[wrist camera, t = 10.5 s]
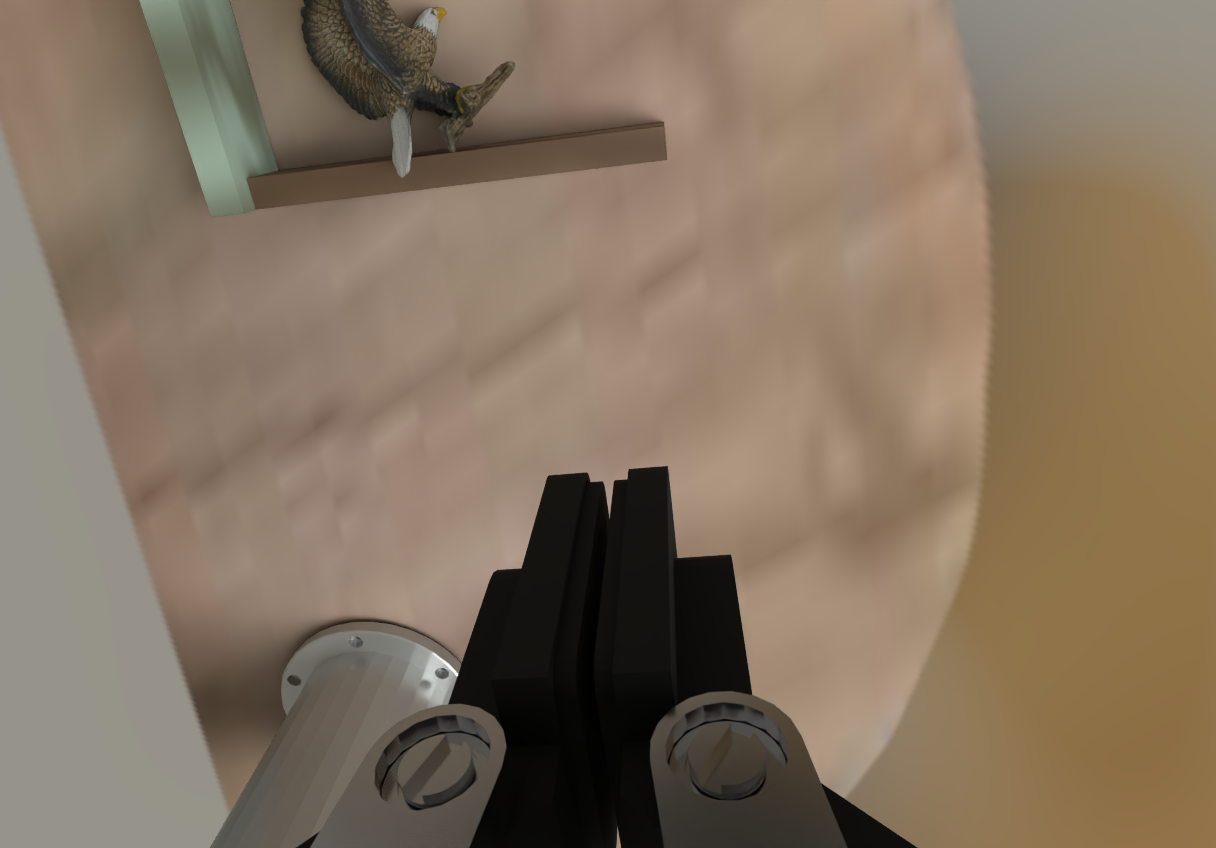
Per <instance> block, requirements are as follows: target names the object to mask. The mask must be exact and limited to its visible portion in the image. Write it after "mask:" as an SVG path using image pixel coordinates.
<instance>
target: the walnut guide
mask: <svg viewBox="0 0 1216 848" xmlns="http://www.w3.org/2000/svg"><path fill="white" fill-rule="evenodd" d="M139 1H140V4H141V7H142V10H143V13H144V16H145V19H146V22H147V25H148V28H149V31H150V34H151V37H152V40H153V43H154V46H155V49H156V52H157V55H158V58H159V61H160V64H161V67H162V70H163V73H164V76H165V79H166V82H167V85H168V88H169V91H170V94H171V98H172V101H173V104H174V107H175V110H176V113H177V116H178V119H179V122H180V125H181V128H182V131H183V134H184V137H185V140H186V143H187V146H188V149H189V152H190V155H191V158H192V161H193V164H194V167H195V170H196V173H197V176H198V179H199V182H200V185H201V188H202V191H203V194H204V197H205V200H206V203H207V206H208V209H209V212H210V215H211V217H218V216H226V215H234V214H243V213H247V212H250V211H253V210H255V209H264V208H272V207H280V206H288V205H297V204H305V203H313V202H322V201H330V200H338V199H347V198H355V197H363V196H371V195H380V194H388V193H396V192H405V191H413V190H421V189H430V188H438V187H446V186H454V185H463V184H471V183H479V182H488V181H496V180H504V179H513V178H521V177H529V176H537V175H546V174H554V173H562V172H571V171H579V170H587V169H595V168H604V167H612V166H620V165H629V164H637V163H645V162H654V161H662V160H667V152H666V140H665V128H664V122H658V123H650V124H643V125H635V126H627V127H619V128H611V129H603V130H595V131H587V132H579V133H571V134H563V135H555V136H547V137H539V138H532V139H524V140H516V141H508V142H500V143H492V144H484V145H476V146H468V147H460V148H457V149H456V151H455V152H451V151H450V150H448V149H444V150H436V151H428V152H420V153H413V154H412V155H411V162H410V171H409V172H408V173H407V174H406V175H405V176H404V177H403V178H401V177H400V176H399V175H398V173H397V170H396V168H395V165H394V163H393V160H392V156H389V157H381V158H373V159H365V160H357V161H349V162H341V163H333V164H325V165H317V166H309V167H302V168H294V169H286V170H278V168H277V164H276V161H275V157H274V154H273V151H272V147H271V144H270V140H269V137H268V133H267V130H266V126H265V123H264V119H263V116H262V112H261V109H260V105H259V102H258V98H257V95H256V92H255V88H254V85H253V81H252V78H251V74H250V71H249V67H248V64H247V60H246V57H245V53H244V50H243V46H242V43H241V40H240V36H239V33H238V29H237V26H236V22H235V19H234V15H233V12H232V8H231V5H230V1H229V0H139Z"/></svg>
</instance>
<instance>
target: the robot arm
mask: <svg viewBox="0 0 1216 848" xmlns="http://www.w3.org/2000/svg"><path fill="white" fill-rule="evenodd" d="M280 693H281V699H282V706H283V708H284V711H285V714H286V718H285V720H284V721H283V723H282V725H281V727H280V728H279V730H278V732H277V733H276V735H275V737H274V739H273V740H272V742H271V744H270V745H269V747H268V749H267V751H266V752H265V754H264V756H263V757H262V759H261V761H260V763H259V764H258V766H257V768H256V769H255V771H254V773H253V775H252V776H251V778H250V780H249V781H248V783H247V785H246V787H245V788H244V790H243V792H242V793H241V795H240V797H239V799H238V800H237V802H236V804H235V805H234V807H233V809H232V811H231V812H230V814H229V816H228V817H227V819H226V821H225V823H224V824H223V826H222V828H221V829H220V831H219V833H218V835H217V836H216V838H215V840H214V842H213V843H212V845H211V847H210V848H616V844H617V826H618V831H619V837H620V843H621V848H917V847H915V846H914V845H912V844H911V843H909V842H908V841H906V840H905V839H903V838H902V837H900V836H899V835H897V834H896V833H895V832H893V831H891V830H890V829H889V828H887V827H886V826H884V825H883V824H881V823H880V822H878V821H877V820H875V819H874V818H872V817H871V816H869V815H868V814H866V813H865V812H863V811H862V810H860V809H859V808H857V807H856V806H854V805H853V804H851V803H850V802H848V801H847V800H845V799H844V798H842V797H841V796H839V795H838V794H836V793H835V792H833V791H832V790H830V789H829V788H827V787H826V786H824V785H823V784H821V782H820V780H819V777H818V775H817V772H816V770H815V768H814V765H813V763H812V760H811V758H810V755H809V753H808V751H807V748H806V746H805V743H804V741H803V738H802V736H801V734H800V733H799V731H798V730H797V728H796V726H795V725H794V723H793V722H792V720H791V718H789V717H788V716H787V715H786V714H785V713H783V712H782V711H781V710H780V709H779V708H778V707H776V706H775V705H774V704H772V703H769V702H767V701H765V700H763V699H761V698H759V697H756V696H754V695H752V690H751V683H750V676H749V670H748V663H747V656H746V650H745V643H744V636H743V630H742V623H741V616H740V610H739V603H738V596H737V589H736V583H735V576H734V569H733V563H732V557H731V555H718V556H703V557H688V558H677V550H676V540H675V530H674V521H673V511H672V501H671V491H670V481H669V473H668V466H663V467H650V468H638V469H629V471H628V479H627V480H615V481H614V486H613V495H612V504H611V512H610V520H609V513H608V506H607V499H606V492H605V487H604V483H603V481H602V482H590V478H589V475H588V473H575V474H562V475H550V476H548V478H547V480H546V484H545V487H544V491H543V494H542V498H541V502H540V505H539V509H538V512H537V516H536V519H535V523H534V526H533V530H532V534H531V537H530V541H529V544H528V548H527V551H526V555H525V558H524V562H523V566H522V569H507V570H497V571H495V572H494V573H493V575H492V577H491V579H490V581H489V584H488V587H487V590H486V593H485V596H484V599H483V602H482V605H481V608H480V611H479V614H478V617H477V620H476V623H475V626H474V629H473V632H472V635H471V638H470V640H469V643H468V646H467V649H466V652H465V655H464V658H463V661H462V664H460V662H459V661H458V660H457V659H456V658H455V657H454V656H452V655H451V654H450V653H449V652H448V651H447V650H446V649H445V648H443V647H442V646H440V645H439V644H437V643H435V642H434V641H432V640H431V639H429V638H427V637H425V636H423V635H421V634H418V633H416V632H414V631H412V630H409V629H406V628H402V627H399V626H395V625H392V624H385V623H377V622H351V623H346V624H340V625H335V626H332V627H330V628H327V629H325V630H322V631H319V632H318V633H316V634H315V635H313V636H312V637H310V638H309V639H307V640H306V641H305V642H304V643H303V644H302V645H301V646H300V647H299V648H298V649H297V650H296V652H295V653H294V655H293V657H292V658H291V660H290V661H289V663H288V664H287V666H286V668H285V671H284V673H283V676H282V681H281V691H280Z"/></svg>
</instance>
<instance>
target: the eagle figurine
mask: <svg viewBox="0 0 1216 848" xmlns="http://www.w3.org/2000/svg"><path fill="white" fill-rule="evenodd" d="M304 2H305V4H306V7H304V8H302V10H301V15H302V17H303V19H304V23H303V24H302V31H303V34H304V36H303V37H304V40H305V42H306V44H307V51H308V53H309V54H310V55H311V57H312V62H313V63H314V64H315V66H317V67H318V69H319V71H320V72H321V73H322V75H323V76H324V78H326V79H327V80H329V82H330V84H331V85H332V86H333V87H334V88H335V90H336V91H337V93H338V94H340V95H342V96H343V99H344V100H345V102H346V103H348V104H349V106H350V107H351V108H352V109H354V110H356V111H357V112H358V113H359V114H362V115H364V116H365V117H366V118H368V119H374V120H377V117H384V115H385V116H387V117H388V120H389V122H390V125H391V129H392V136H393V143H394V145H393V151H392V160H393V163H394V165H395V168H396V170H397V173H398V175H399V176H400V177H401V178H403V177H404V176H405V175H406V174H407V173H408V172H409V171H410V162H411V155H412V138H411V126H410V125H411V116H412V112H413V109H414V108H416V109H418V110H428V111H432V112H435V113H437V114H438V115H440V116H442V115H446V116H448V117H450V116H451V115H452V116H451V117H450V118H448V119H446V120H445V121H444V122H442V124H441V125H440V130H441V132H442V134H443V136H444V140H445V144H446V146H447V148H448V150H450V151H451V152H455V151H456V149H457V147H458V138H459V137H460V136H461V135H462V134H463V130H464V128H465V126H466V127H471V126H472V125H473V121H472V118H473V117H475V116H476V114H477V113H478V112H479V111H480V109H481V108H482V107H483V106H484V105H485V104H486V103H487V102H488V101H489V100H490V99H491V98H492V97H493V96H494V94H495V93H496V92H497V90H498V89H499V88H500V86H501V85H502V84H503V83H504V81H505V80H506V79H507V78H508V77H509V76H510V74H511V73H512V71H513V70H514V68H515V63H514V62H510V61H509V62H506V63H503V64H501V65H500V66H499V67H498V68H497V69H496V70H495V71H494V72H493V73H492V74H491V75H490V76H488V77H487V78H486V80H485V82H484V83H482V84H479V85H474V86H468V87H465V88H460V87H459V86H456V85H455V84H453V83H444V82H442V81H441V80H440V79H439V78H438V77H437V76H436V75H434V73H433V72H432V70H431V65H432V63H433V60H434V57H435V53H436V39H437V30H438V26H439V23H440V20H441V18H442V17H443V16H444V15H446V11H445V10H444V9H443V8H435V9H433V8H428V9H426V10H425V11H423V12H422V13H421V14H420V15H419V17H418V18H417V20H416V22H415V23H414V25H413V27H412V28H409V27H408V26H406V25H405V24H404V23H403V22H402V21H401V20H400V18H399V17H398V16H397V15H396V14H395V13H394V11H393V10H392V8H391V6H390V5H389V3H388V1H387V0H304Z"/></svg>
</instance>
